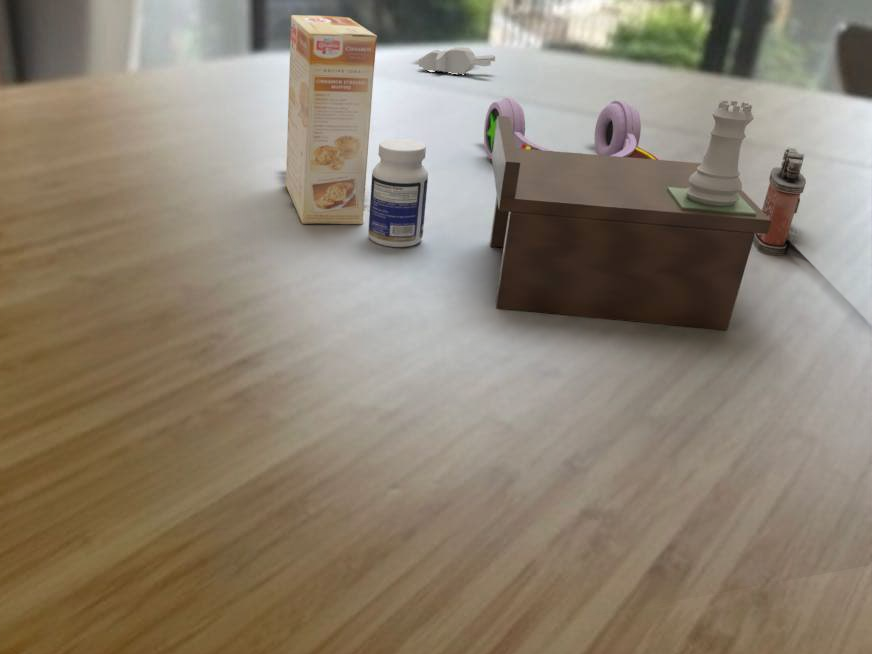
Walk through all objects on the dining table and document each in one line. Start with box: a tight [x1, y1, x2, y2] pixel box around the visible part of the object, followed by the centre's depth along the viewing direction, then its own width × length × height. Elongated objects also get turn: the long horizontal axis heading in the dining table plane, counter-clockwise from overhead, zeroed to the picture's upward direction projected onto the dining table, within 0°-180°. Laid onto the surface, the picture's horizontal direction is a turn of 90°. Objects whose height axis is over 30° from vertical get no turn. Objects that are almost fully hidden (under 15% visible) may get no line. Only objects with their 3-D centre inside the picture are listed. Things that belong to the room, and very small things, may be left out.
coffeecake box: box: [285, 14, 378, 225], centre depth 100 cm, size 15×7×20 cm, turn 9°
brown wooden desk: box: [489, 116, 772, 331], centre depth 84 cm, size 22×18×13 cm
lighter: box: [752, 147, 807, 256], centre depth 98 cm, size 8×3×10 cm, turn 161°
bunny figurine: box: [418, 46, 496, 75], centre depth 187 cm, size 10×5×15 cm
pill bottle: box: [367, 138, 429, 248], centre depth 93 cm, size 6×6×10 cm
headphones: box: [483, 97, 659, 160], centre depth 120 cm, size 20×10×20 cm
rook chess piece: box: [685, 99, 755, 206], centre depth 75 cm, size 4×4×8 cm
